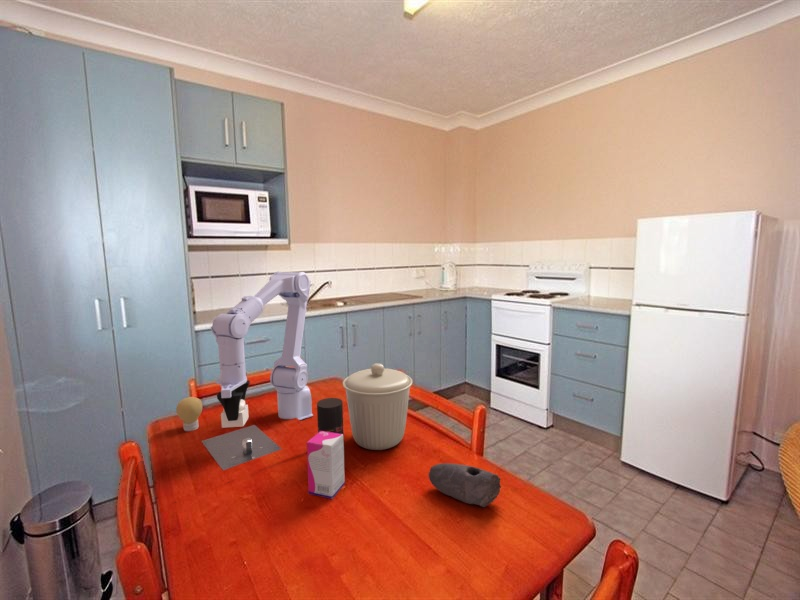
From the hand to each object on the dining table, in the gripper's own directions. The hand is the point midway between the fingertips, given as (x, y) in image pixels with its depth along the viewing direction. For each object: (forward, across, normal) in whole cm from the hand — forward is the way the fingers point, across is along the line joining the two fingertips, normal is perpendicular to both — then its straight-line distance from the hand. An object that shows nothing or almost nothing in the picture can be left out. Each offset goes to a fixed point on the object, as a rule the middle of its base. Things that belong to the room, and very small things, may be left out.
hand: (235, 415), depth 96 cm
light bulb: (+10, -14, -16) cm, 23 cm away
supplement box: (+10, +20, +22) cm, 31 cm away
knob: (+2, 0, 0) cm, 2 cm away
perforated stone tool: (+10, +27, +50) cm, 58 cm away
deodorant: (+10, +10, +23) cm, 27 cm away
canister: (+10, +1, +36) cm, 37 cm away
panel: (+10, -1, 0) cm, 10 cm away
